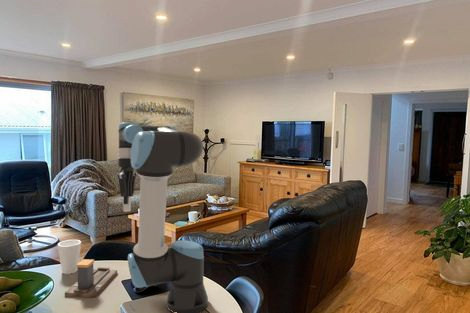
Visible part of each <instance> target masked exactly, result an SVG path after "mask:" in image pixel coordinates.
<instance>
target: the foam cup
mask: <svg viewBox="0 0 470 313" xmlns="http://www.w3.org/2000/svg"><path fill="white" fill-rule="evenodd" d="M81 248H82V241H81V240H80V239H67V240H63V241H60V242H58V243H57V250H58V251H57V252H58V257H59V261H60V262H59V263H60V267H61V273H62V274H64V275H70V274H71V273H72V274H74V273H76V271H77V267H76V265H77V264H78V263H79V262H80V257H81V256H80V254H81Z"/></svg>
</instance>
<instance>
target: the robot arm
mask: <svg viewBox="0 0 470 313" xmlns="http://www.w3.org/2000/svg"><path fill="white" fill-rule="evenodd" d="M117 131H118V132H117V133H118V151H117V153H118V157H119V158H118V164H117V165H118V167H119V168H121V169H120V173H117V178H118V184H119V193H120V197H123V207H122V210H123V212H126V213H127V212H131V210H132V209H131V208H132V205H131V204H132V197H134V193H135V185H136V177H137V176H139V178H140V181H139V182H140V187H139V216H138V237H137V238H138V241H137V243H136V244H135V245H134V246H133V248H132V250H133V253H132V252H131V253H128V255H127V263H128V269H129V274H130V280H131V279H132V283H133V285H134V286H133V287H134V288H137V289H138V288H144V287H145V288H149V287H152V286H157V285H161V284H165V283H166V284H167V283H171V286H170V289H169V292H168V294H167V298H166V307H167V306H168V308H169V309H170V310H172V311H173V312H177V313H197V312H199V313H201V312H202V310H203V311H204V310H206V308H207V307H208V305H209V298H208V294H207V291H206V287H205V284H204V266H205V264H204V262H205V260H204V259H205V256H204V247H203V246H202V244H200V243H199V242H195V241H193V240H192V241H191V240H180V239H179V240H175V241H172V243H171V245H170V247H168V244H167V243H165V232H166V231H165V229H166V212H167V197H168V196H167V195H168V194H167V193H168V178H170V177H171V176H172V175H173V173H174V172H173V171H174V168H181V167H188V166H190V165H193V164H194V163H195V162H197V161H198V160H199V159H200V158H201V157H202V154H203V151H204V144H203V140H202V138H200V136H198V134H195V133H193V132H189V131H177V130H176V128H175V127H174V126H171V125H138V124H136V123H135V122H134V123H133V122H121V123H119V124H118V130H117ZM134 170H135V172H134ZM168 308H167V309H168ZM200 311H201V312H200Z"/></svg>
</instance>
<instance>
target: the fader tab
mask: <svg viewBox="0 0 470 313" xmlns="http://www.w3.org/2000/svg"><path fill="white" fill-rule="evenodd" d="M94 263H95V259H85V258H84V259H82V260H79V263H78V264H77V265H76V267H77V281H78V289H84V290H88V289H89V288H90V287H91V286H92V285H93V284H94V273H93V269H94Z"/></svg>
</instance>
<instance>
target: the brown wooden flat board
mask: <svg viewBox="0 0 470 313" xmlns="http://www.w3.org/2000/svg"><path fill="white" fill-rule="evenodd" d="M93 273H94V284H93V285H92V286H91V287H90V288H89V289H88V290H84V289H78V280H77V281H76V282H75V283H74V284H73V285H71V287H69V288H68V289H67V290H66V291H64V297H73V298H96V297H97V296H98V295H99V294H100V293H101V292H102V291H103V290H104V289H105V288H106V287H107V285H108V284H110V282H111V281H112V280H113V279H114V277H116V275H117V274H118V270H116V269H110V267H100V266H99V267H97V268H96V269H94V268H93Z"/></svg>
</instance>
